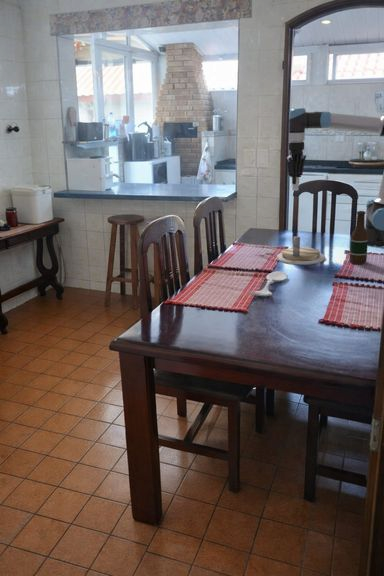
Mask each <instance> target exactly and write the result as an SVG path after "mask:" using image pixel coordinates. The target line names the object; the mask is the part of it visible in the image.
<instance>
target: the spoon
mask: <svg viewBox="0 0 384 576" xmlns="http://www.w3.org/2000/svg"><path fill="white" fill-rule="evenodd" d="M288 277H289V275H288V274H287V273H286V272H285V271H280V270H279V271H272V272H271V273H268V274H267V275H266V277H265V279H266V280H267V281H265V282H266V284H265V285H264V287H263V288H262V289H261V290H256V291H249V295H253V296H257V297H258V296H259V297H272V295H273V292H271V291H270V290H269V288H270V285H271V284H274V283H278V282H284V281H286V280H287V279H288Z"/></svg>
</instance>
